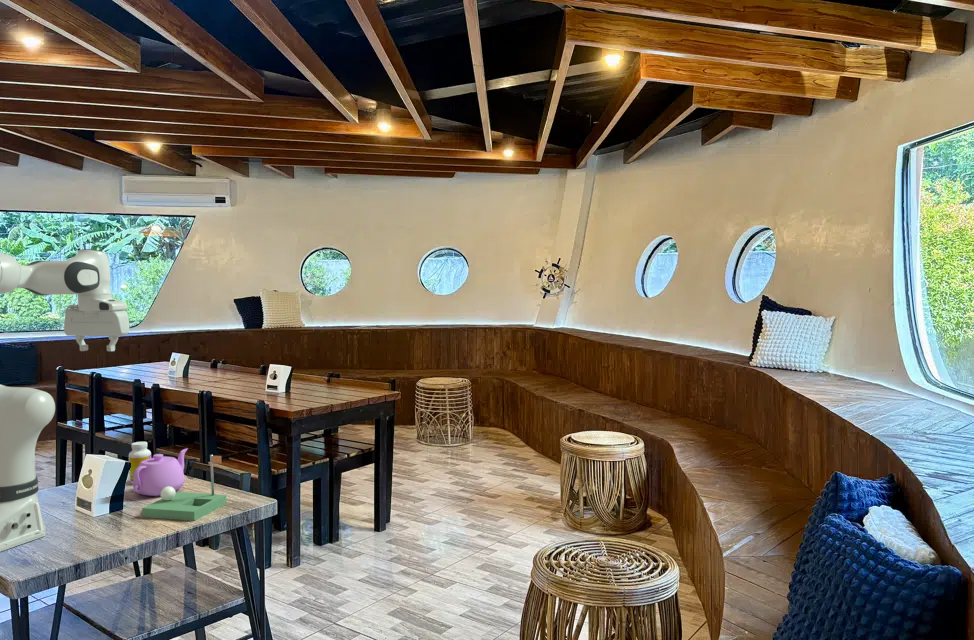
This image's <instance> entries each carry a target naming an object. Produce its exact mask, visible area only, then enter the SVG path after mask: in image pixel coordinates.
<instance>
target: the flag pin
mask: <svg viewBox="0 0 974 640" xmlns="http://www.w3.org/2000/svg"><path fill="white" fill-rule="evenodd" d="M209 460H210V461H209V463H210V482H211V483H210V486H211V494H212V496H213V495H214V494H215V479H214V476H215V475H214V464H217V465H218V464H222V456H221V455H213V454H209Z"/></svg>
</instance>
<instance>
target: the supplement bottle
mask: <svg viewBox="0 0 974 640" xmlns="http://www.w3.org/2000/svg"><path fill="white" fill-rule="evenodd" d="M130 445H131V449H132V450H131V451H130V452H129V453H128V463H129V462H130V463H131V468H130V470H129V469H128V470H129V482H130V484H131V485H133V482H134V471H135V470H136V468H138V466H139V464H140V463H141V462H142V461H144V460H147V459H151V458H152V452H151V450H150V449H148V447H149V446H148V442H147V441H136V442H131V444H130Z"/></svg>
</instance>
